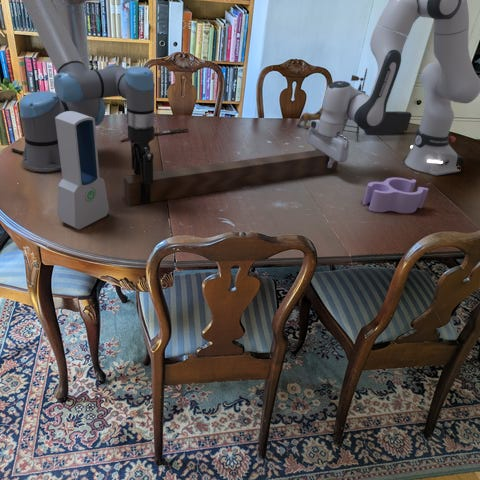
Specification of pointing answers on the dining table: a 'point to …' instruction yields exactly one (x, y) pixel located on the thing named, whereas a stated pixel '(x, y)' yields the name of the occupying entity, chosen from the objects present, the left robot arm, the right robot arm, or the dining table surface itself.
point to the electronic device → (79, 171)
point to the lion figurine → (310, 117)
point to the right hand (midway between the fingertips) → (323, 163)
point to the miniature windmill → (355, 78)
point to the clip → (394, 196)
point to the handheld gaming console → (392, 123)
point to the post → (227, 175)
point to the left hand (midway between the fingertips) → (142, 197)
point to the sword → (162, 132)
